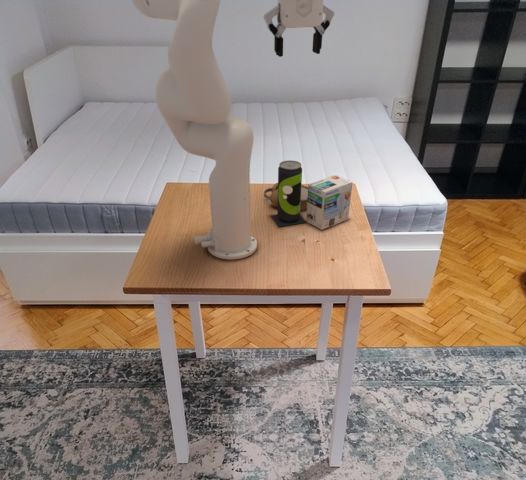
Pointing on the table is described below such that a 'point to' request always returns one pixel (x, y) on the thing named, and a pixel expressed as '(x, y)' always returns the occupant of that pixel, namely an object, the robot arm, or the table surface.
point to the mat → (283, 224)
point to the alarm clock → (274, 196)
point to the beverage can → (289, 190)
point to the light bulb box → (328, 201)
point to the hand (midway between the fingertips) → (297, 54)
